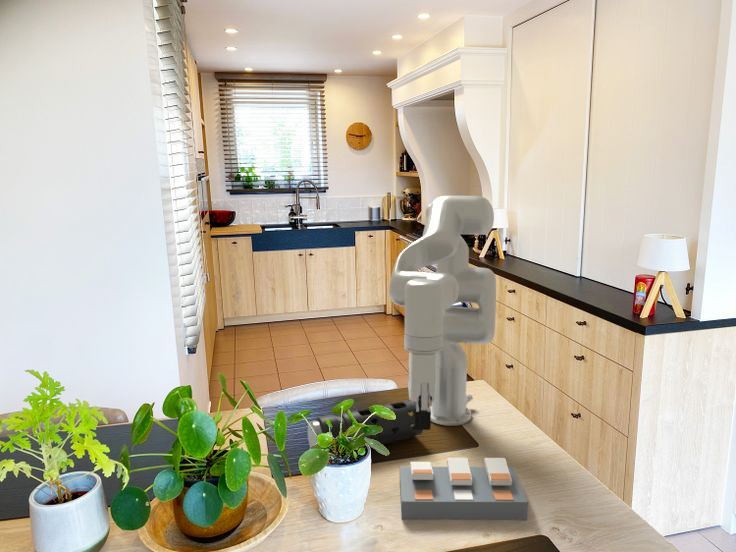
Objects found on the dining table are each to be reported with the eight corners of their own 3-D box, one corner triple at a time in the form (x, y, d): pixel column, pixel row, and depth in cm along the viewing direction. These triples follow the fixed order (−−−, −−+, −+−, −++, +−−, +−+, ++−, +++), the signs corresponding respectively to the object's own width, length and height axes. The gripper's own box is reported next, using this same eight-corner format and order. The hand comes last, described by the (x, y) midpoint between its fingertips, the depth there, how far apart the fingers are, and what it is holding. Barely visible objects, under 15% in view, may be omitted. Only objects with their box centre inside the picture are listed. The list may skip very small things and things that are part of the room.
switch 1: (410, 472, 123) (410, 461, 123) (430, 472, 123) (430, 461, 123) (412, 485, 116) (411, 473, 116) (433, 485, 116) (433, 473, 116)
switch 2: (446, 466, 123) (447, 457, 122) (466, 466, 123) (467, 457, 122) (450, 489, 116) (450, 479, 115) (471, 489, 116) (472, 480, 115)
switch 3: (483, 466, 122) (484, 457, 122) (504, 466, 122) (505, 457, 121) (489, 489, 116) (490, 480, 115) (511, 490, 116) (512, 480, 115)
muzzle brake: (424, 445, 142) (424, 407, 140) (319, 469, 131) (317, 428, 129) (407, 429, 151) (407, 393, 149) (307, 451, 140) (305, 412, 138)
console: (399, 482, 125) (399, 465, 124) (512, 483, 125) (513, 466, 124) (401, 519, 113) (401, 500, 112) (527, 520, 112) (528, 501, 111)
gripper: (403, 330, 119) (402, 412, 122) (405, 353, 104) (405, 445, 107) (438, 330, 118) (437, 412, 122) (446, 353, 104) (444, 445, 107)
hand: (422, 427), depth 114 cm, fingers closed
